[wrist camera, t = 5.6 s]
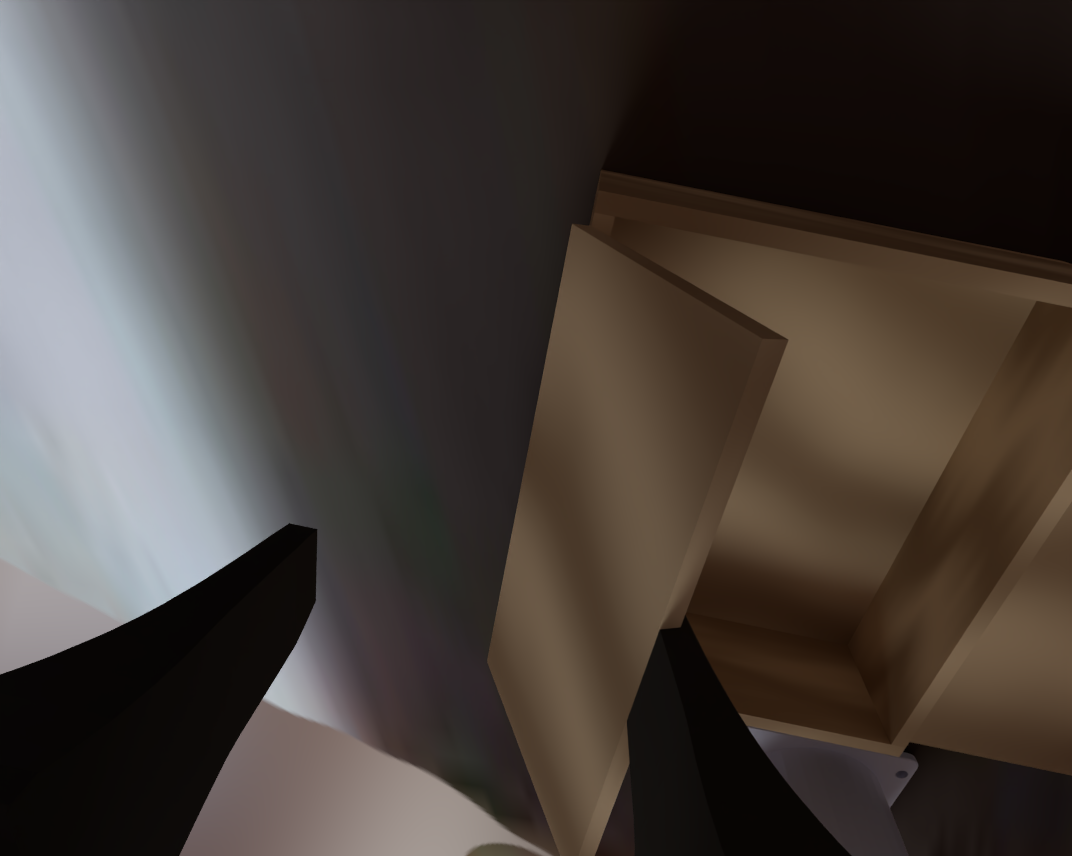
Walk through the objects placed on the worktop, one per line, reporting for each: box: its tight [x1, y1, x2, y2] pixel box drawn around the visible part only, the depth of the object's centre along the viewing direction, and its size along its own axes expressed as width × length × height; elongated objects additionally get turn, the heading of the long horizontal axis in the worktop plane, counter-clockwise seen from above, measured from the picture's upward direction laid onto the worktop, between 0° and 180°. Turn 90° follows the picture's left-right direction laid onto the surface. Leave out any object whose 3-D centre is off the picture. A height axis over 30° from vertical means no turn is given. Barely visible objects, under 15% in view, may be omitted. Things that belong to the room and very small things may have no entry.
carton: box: [589, 170, 1072, 775], centre depth 21 cm, size 16×21×5 cm
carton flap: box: [487, 224, 788, 856], centre depth 16 cm, size 14×7×1 cm
